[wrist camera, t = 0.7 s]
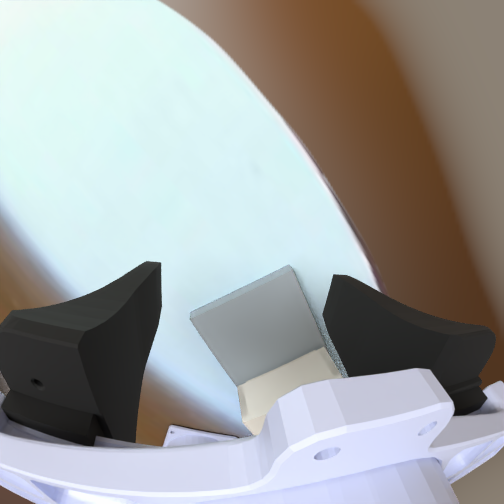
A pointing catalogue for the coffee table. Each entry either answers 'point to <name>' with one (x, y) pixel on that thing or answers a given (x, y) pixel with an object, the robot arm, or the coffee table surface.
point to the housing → (282, 386)
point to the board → (259, 327)
